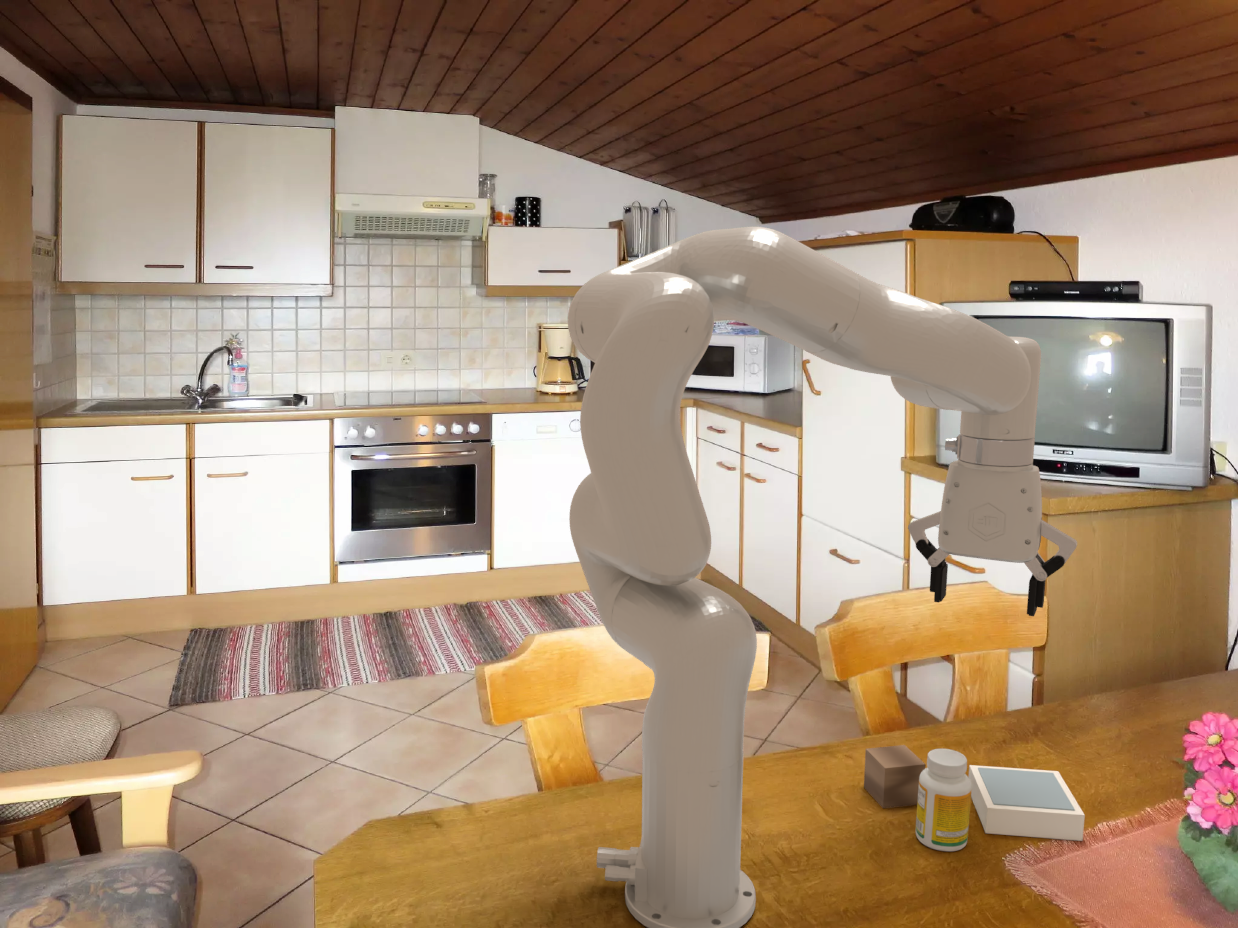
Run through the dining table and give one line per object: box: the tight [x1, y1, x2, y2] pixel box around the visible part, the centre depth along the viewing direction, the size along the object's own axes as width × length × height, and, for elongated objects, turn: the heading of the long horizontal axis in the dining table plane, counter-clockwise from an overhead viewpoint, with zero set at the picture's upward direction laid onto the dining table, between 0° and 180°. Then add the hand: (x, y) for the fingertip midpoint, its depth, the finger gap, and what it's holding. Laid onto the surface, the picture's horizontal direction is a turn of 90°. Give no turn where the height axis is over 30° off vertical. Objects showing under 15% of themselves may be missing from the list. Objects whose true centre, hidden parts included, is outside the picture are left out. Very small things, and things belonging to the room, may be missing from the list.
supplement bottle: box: [915, 748, 972, 852], centre depth 106 cm, size 5×5×10 cm
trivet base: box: [968, 764, 1086, 842], centre depth 112 cm, size 10×10×3 cm
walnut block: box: [863, 744, 926, 809], centre depth 116 cm, size 5×5×5 cm
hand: (984, 605), depth 109 cm, fingers open, 9 cm apart
